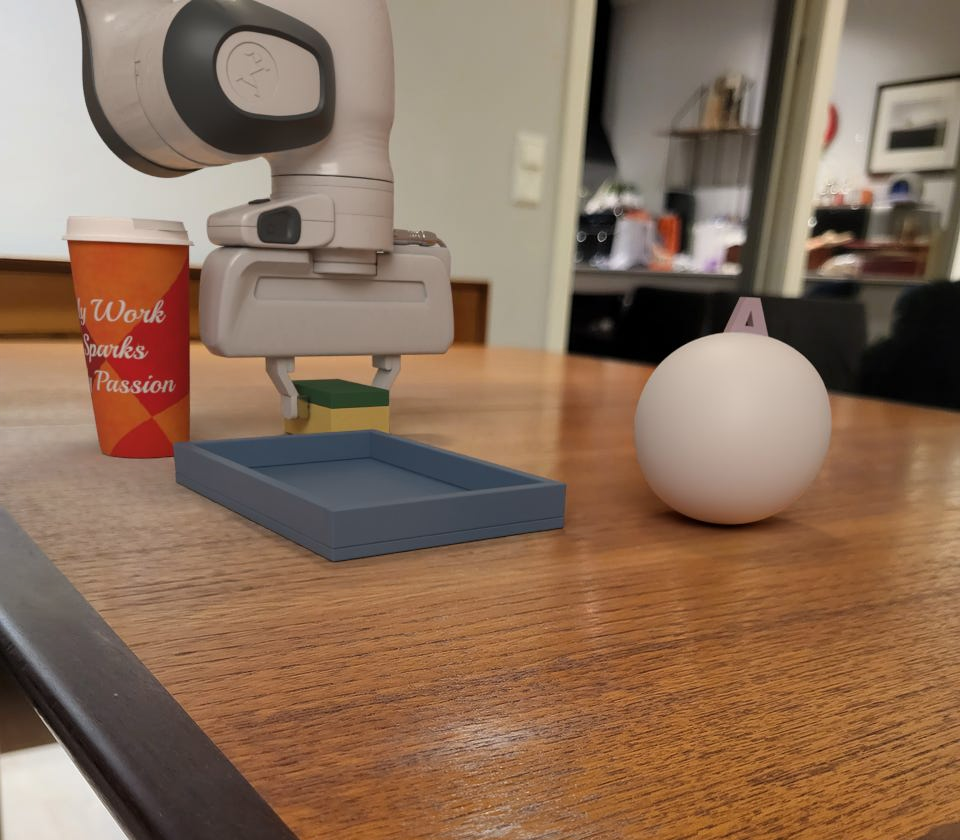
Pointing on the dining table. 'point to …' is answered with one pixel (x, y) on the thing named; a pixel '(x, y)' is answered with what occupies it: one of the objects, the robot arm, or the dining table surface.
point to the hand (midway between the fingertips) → (335, 416)
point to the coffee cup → (134, 329)
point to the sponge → (340, 407)
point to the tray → (367, 491)
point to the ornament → (733, 424)
